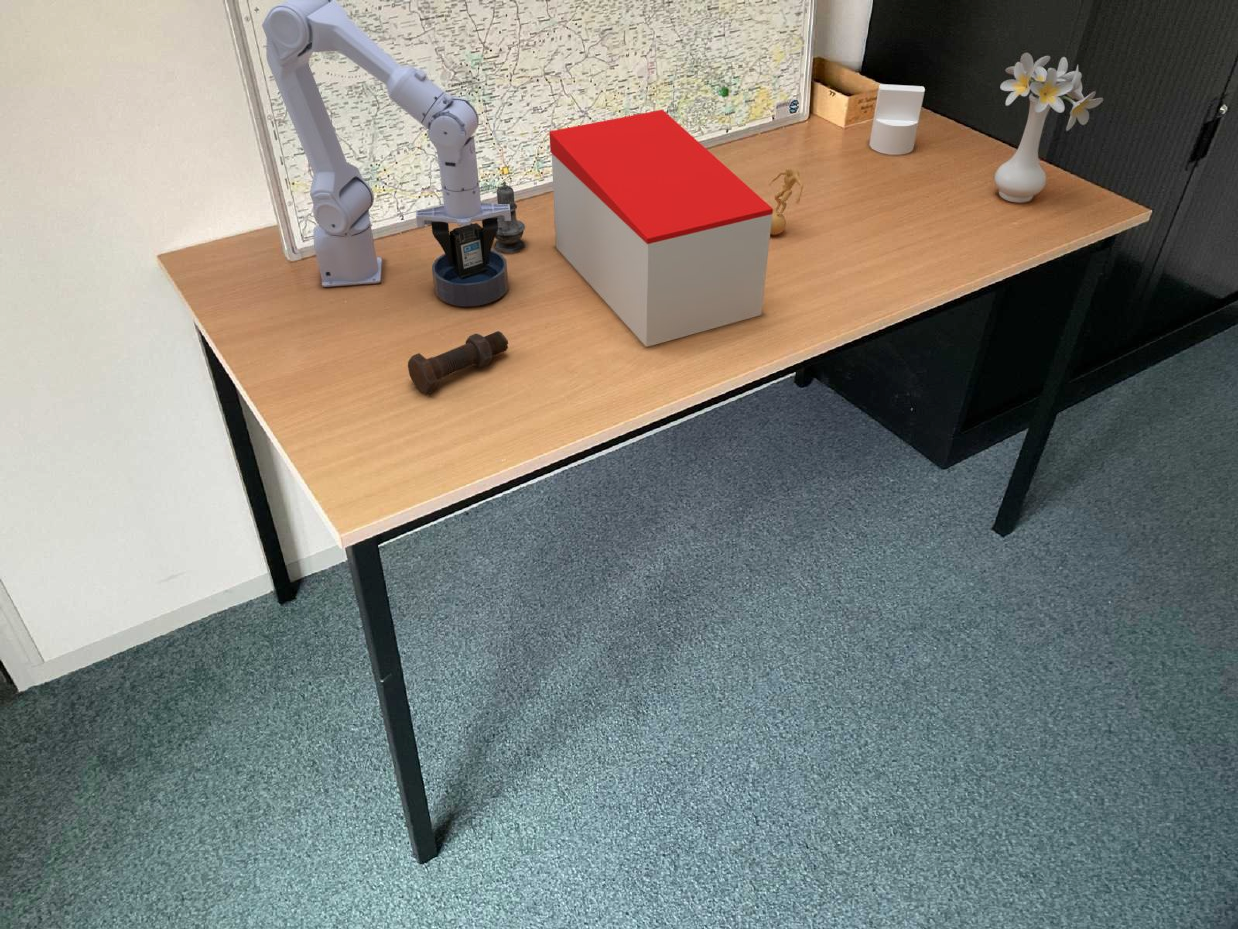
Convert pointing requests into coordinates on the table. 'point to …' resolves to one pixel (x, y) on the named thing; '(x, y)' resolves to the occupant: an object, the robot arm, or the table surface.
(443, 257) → the bowl
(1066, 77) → the flower vase
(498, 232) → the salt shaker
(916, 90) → the base with upright slab
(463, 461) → the table surface
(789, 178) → the figurine
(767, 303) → the table surface
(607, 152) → the red-topped grey box
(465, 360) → the bolt
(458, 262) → the ink cartridge
